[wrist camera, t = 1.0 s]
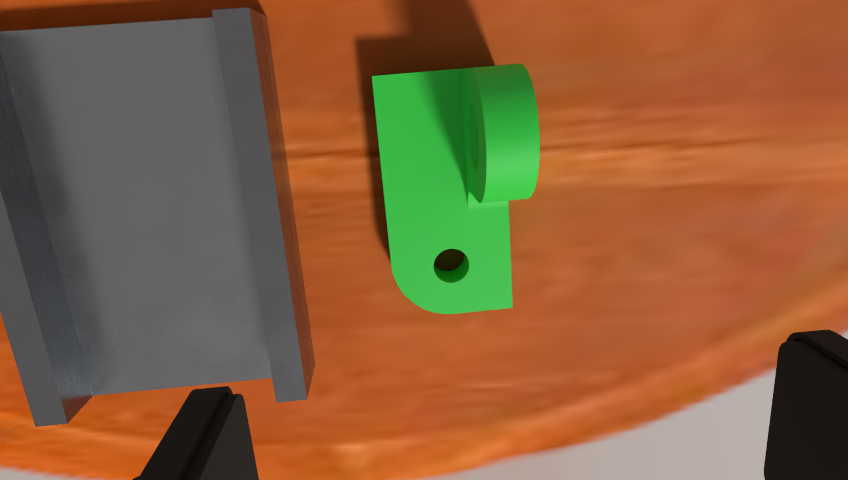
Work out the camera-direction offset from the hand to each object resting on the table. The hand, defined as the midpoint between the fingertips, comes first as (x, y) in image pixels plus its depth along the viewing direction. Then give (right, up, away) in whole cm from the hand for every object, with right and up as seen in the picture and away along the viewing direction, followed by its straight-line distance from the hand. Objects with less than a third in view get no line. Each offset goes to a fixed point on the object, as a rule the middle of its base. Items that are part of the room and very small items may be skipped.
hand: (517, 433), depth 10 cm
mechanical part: (-1, +6, +20) cm, 21 cm away
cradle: (-15, +5, +19) cm, 24 cm away
